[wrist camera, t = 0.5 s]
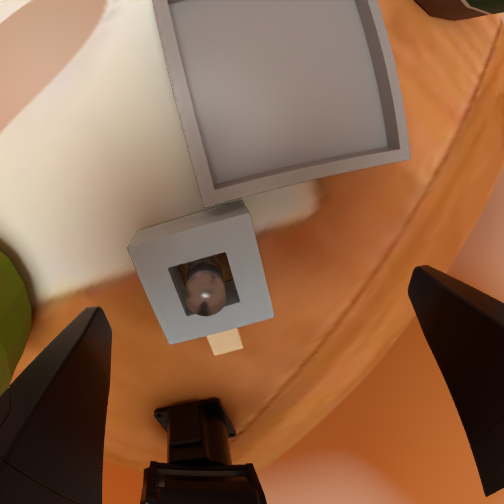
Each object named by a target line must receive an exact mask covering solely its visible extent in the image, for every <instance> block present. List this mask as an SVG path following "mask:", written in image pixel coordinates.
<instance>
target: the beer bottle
mask: <svg viewBox="0 0 504 504" xmlns="http://www.w3.org/2000/svg"><path fill="white" fill-rule="evenodd" d="M415 1H416V2H417V3H418V4H419V5H420V6H421V7H422V8H423V9H424V10H425V11H426V12H427V13H428V14H429V15H432V16H436V17H441V18H446V19H450V20H462V19H469V18H474V17H479V16H484V15H490V14H496V13H502V12H504V0H415Z"/></svg>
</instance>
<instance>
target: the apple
mask: <svg viewBox="0 0 504 504" xmlns="http://www.w3.org/2000/svg"><path fill="white" fill-rule="evenodd" d="M31 329H32V308H31V304H30V301H29V298H28V294H27V291H26V287H25V284H24V282H23V280H22V279H21V277H20V275H19V274H18V272H17V270H16V269H15V267H14V265H13V264H12V262H11V260H10V259H9V258H8V257H7V256H6V255H5V254H3V253H2V252H1V251H0V396H1V395H2V394H3V393H4V391H5V390H6V389H7V388H8V387H9V385H10V382H11V379H12V376H13V374H14V371H15V368H16V366H17V364H18V362H19V360H20V358H21V356H22V354H23V352H24V349H25V346H26V343H27V340H28V337H29V335H30V332H31Z"/></svg>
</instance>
